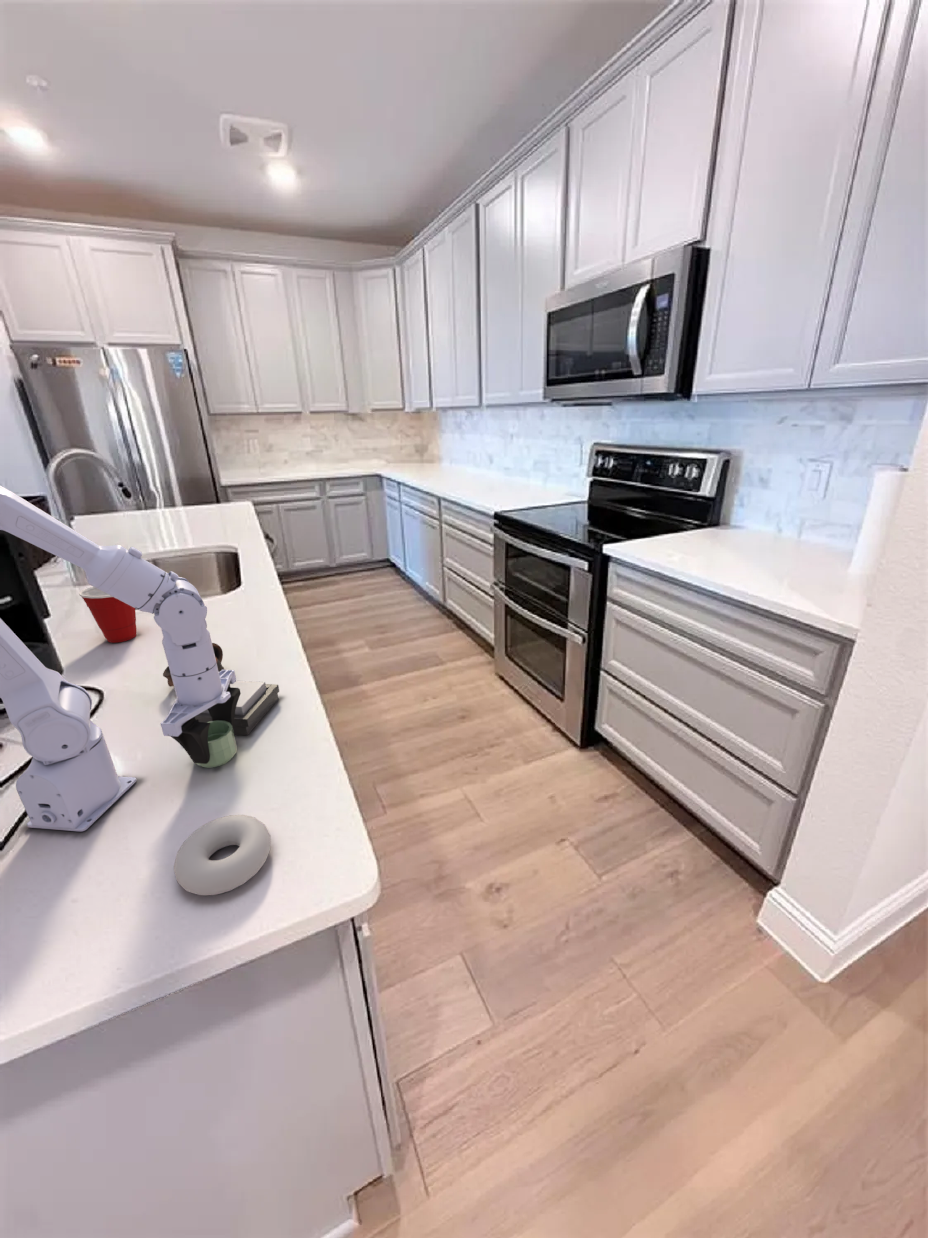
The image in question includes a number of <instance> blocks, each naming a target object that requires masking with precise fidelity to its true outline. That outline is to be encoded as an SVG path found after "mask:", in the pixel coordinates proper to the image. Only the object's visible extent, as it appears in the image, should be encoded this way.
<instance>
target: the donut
mask: <svg viewBox="0 0 928 1238" xmlns="http://www.w3.org/2000/svg"><path fill="white" fill-rule="evenodd" d="M229 846H238V848H237V849H236V850H235V851H234V852H233V853H232V854H229V855H228V856H226V857H224V858H220V859H217V860H211V859H210V858H211V856H212V855H213V854H214V853H216V852H217V851H218V850H221V849H223V848H225V847H229ZM270 851H271V834H270V831H269V829H268V827H267V826H266V824H265V823H263V822H262V821H261V820H260V819H258V818H256V817H255V816H251V815H247V814H231V815H226V816H222V817H217V818H216V819H213V820H211V821H208V822H207V823H205V824H203V825H202V826H201V827H199V828H197V829H196V830H195V831H193V833H191V834H190V835H189V836H188V837H187V838H186V839H185V840H184V841H183V843H182V844H181V846H180V847H179V849H178V851H177V853H176V855H175V860H174V863H173V871H174V875H175V879H176V881H177V883H178V884H179V886H181V887H182V888H183V889H184V890H185V891H186V892H188V893H192V894H195V895H198V896H217V895H220V894H223V893H227V892H231V891H232V890H234V889H237V888H238V887H241V886H242V885H244V884H245V883H247V882H248V881H249V880H250V879H252V878H253V877H254V876H255V875H256V874H257V873H258V872H259V871H260V870H261V868H262V867H263V866H264V865H265V863H266V861H267V858H268V856H269V854H270Z"/></svg>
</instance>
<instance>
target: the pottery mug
mask: <svg viewBox="0 0 928 1238" xmlns="http://www.w3.org/2000/svg"><path fill="white" fill-rule="evenodd" d="M212 645H213V650H214V654H215V658H216V663H217V668H218V672H220V671H221V670H226V668H224V666H223V665H222V662H223V657H224V651H223V649H222V647H221V646H220V645H219V644H218V643H215V642H212ZM162 676H163V677H164V678H165V679H166V680H167V686H168V687H174V684H173V681H172V677H171V673H170V669H169V666H168V665H167V666H166V668H165V669H164V670H163V672H162Z"/></svg>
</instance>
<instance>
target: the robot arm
mask: <svg viewBox="0 0 928 1238" xmlns="http://www.w3.org/2000/svg"><path fill="white" fill-rule="evenodd" d="M0 531H4V532H6V533H8V534H11V535H13V536H15V537H16V538H19V539H21V540H23V541H25V542H27V543H29V544H30V545H31V544H32V545H34V547H37V548H39V549H41V550H44V551H45V552H47V553H50V554H52V555H54V556H56V557H58V558H59V559H62V560H64V561H66V562H68V563H70V564H72V565H74V566H77V567H79V568H80V569H82V570H83V571H84V574H85V578H86V581H87V584H88V585H90V586H91V587H95V588H97V589H99V590H101V591H103V592H105V593H107V594H109V595H111V596H113V597H115V598H116V599H118V600H120V601H122V602H124V603H126V604H128V605H130V606H132V607H134V608H135V610H137V611H139V612H142V613H149V614H152V615H154V616H153V620H154V623H156V625H158V627H159V628H160V629H161V632H162V633H161V634H162V641H161V643H162V647H163V651H164V654H165V655H164V656H165V658H166V662H167V667H168V666H169V669H170V673H171V677H172V681H173V684H174V686H173V688H174V691H175V692H174V693H175V695H176V698H175V700H174V702H173V705H172V707H171V708H170V710H169V712H168V714H167V716H166V717H165V718H164V719H163V720H162V721H161V722H160V727H161V730H162V734H163V736H164V737H171V738H172V739H173V740H175V741H176V743H178V744H179V745H180V746H181V747H182V749H184V751H185V752H186V753H187V755H188V756H189V758H190V759H191V761H192V762H193V764H196V763H201V764H207V763H208V762H209V761H210V753H209V746H208V730H209V726H210V723H207V722H199V721H198V719H197V720H196V719H195V716H196V715H198V714H200V713H201V712H203V711H205V710H207V709H208V711H209V713H210V715H211V718H212V721H216V720H223V721H227V722H230V724H231V725H232V728H233V731H234V718H235V710H236V706H237V702H238V699H239V697H240V694H241V692H240V689H239V688H232V687H230V684H234V683H235V682H236V681H237V677H236V676H237V675H236V672H235V670H234V669H225V670H221V671H220V672H218V668H217V663H216V658H215V654H214V650H213V645H212V643H213V642H212V641H213V640H212V637H211V633H210V631H209V630H208V629H207V628H208V624H207V620H206V618H207V615H208V607H207V605H205V603H204V600H203V598H202V596H201V595H200V593H199V591H198V589H197V588H196V586H195V585H193V584H192V583H191V582H190V581H189V580H188V579H187V578H185V577H183V576H179V575H178V573H176V572H174V571H172V570H170V571H169V572H167V571H165V570H164V569H161V568H160V567H158V566H157V565H155V564H153V563H151V562H150V561H148V560H147V559H145V558H143V557H142V556H143V553H142V551H141V550H139V549H138V548H136V547H135V546H130V548H129V549H128V548H127V547H124V546H123V545H120V544H113V545H99V544H98V543H96V542H94V541H92V540H91V539H89V538H88V537H86V536H85V535H83V534H81V533H80V532H78V531H76V530H75V529H73V528H72V527H70V526H68V525H67V524H65V523H64V522H61V521H60V520H59V519H57V518H55V517H54V516H52V515H51V514H49V513H47V512H45V511H44V510H42V509H41V508H39V507H37V506H36V505H34V504H32V503H31V502H29V501H27V500H26V499H24V498H23V497H21V496H19V494H16V493H15V492H13V491H12V490H10V489H7V488H6V487H4V486H2V485H1V484H0ZM0 699H1V701H2V703H3V706H4V708H5V711H6V715H7V717H8V719H9V722H10V723H11V726H13V727H14V728H15V729H16V730H17V731H18V732H19V734H20V736H21V742H22V746H23V749H24V750H25V752H26V753H27V754H28V755H30V757H32V758H31V762H30V764H29V765H28V767H27V768H26V769H25V770H24V771H23V773H21V775H20V776H19V777H18V778H17V780H16V781H15V789H16V792H17V794H18V797H19V799H20V801H21V803H22V806H23V808H24V810H25V813H26V814H27V816H28V819H29V821H28V822H27V823H26V826H27V827H28V828H33V829H43V830H56V831H69V832H70V831H71V832H85V831H87V830H88V829H89V828H90V827H91V826H92V825H93V824H94V823H95V822H96V821H97V820H98V819H99V818H100V817H101V816H103V814H104V813H106V812H107V810H108V809H109V808H110V807H112V806H113V804H115V803H116V802H117V801H118V800H119V799H120V798H121V797H122V796H124V794H125V793H126V792H127V791H128V790H129V789H130V788H131V787H132V786H133V785H134V784H135V783H136V782H137V781H138V780H137V778H136V777H134V776H120V775H119V776H118V773H117V770H116V767H115V764H114V761H113V758H112V756H111V753H110V750H109V748H108V744H107V742H106V738H105V735H104V733H103V731H102V730H103V729H102V728H101V727H100V726H99V725H97V724H96V723H94V722H93V721H92V720H91V710H92V707H93V699H92V696H91V694H90V693H89V691H87V690H86V689H85V688H84V687H82V685H81V686H80V685H78V684H76V683H74V682H70V681H68V680H67V679H66V678H65V677H63V675H62V674H61V673H60V672H58V671H56V670H55V669H54V670H53V669H51V668H48V667H47V666H45V665H44V664H43V663H42V662H41V660H39V658H37V656H36V655H35V654H34V653H33V651H31V649H29V648H28V646H26V644H25V643H24V642H23V641H22V640H21V639H20V638H19V637H18V636H17V635H16V633H14V631H13V630H12V629H11V628H10V626H9V625H7V624H6V623H5V621H4V620H3V619H2V618H1V617H0Z"/></svg>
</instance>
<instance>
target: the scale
mask: <svg viewBox="0 0 928 1238" xmlns="http://www.w3.org/2000/svg"><path fill="white" fill-rule="evenodd" d="M265 684H266V689H267V690H266V691H265V692H264V693H263V695H262V696H261V697H260V698H259V699H258V700H257V701H256V702H255V703H254V704H253V706H252V707H251V708H250V709H249V710H248V711H247V712H246V713H245V714H244V715H235V718H234V731H233V732H234V736H249V734H251V732H252V731H253V730H254V729H255V728H256V726H258V724H259V723H260V721H261V720H262V719H263V718H264V717H265V715H266V714H267V713H268V712H269V711H270V710H271V709H272V707H273V706H274V705H275V704H276V703H277V701H278V700H279V694H278V693H280V686H279V684H276V683H265ZM195 719H196V720H197V719H198V721H199V722H210V721H212V718H211V715H210V713H200V714H198V715H196V716H195Z"/></svg>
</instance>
